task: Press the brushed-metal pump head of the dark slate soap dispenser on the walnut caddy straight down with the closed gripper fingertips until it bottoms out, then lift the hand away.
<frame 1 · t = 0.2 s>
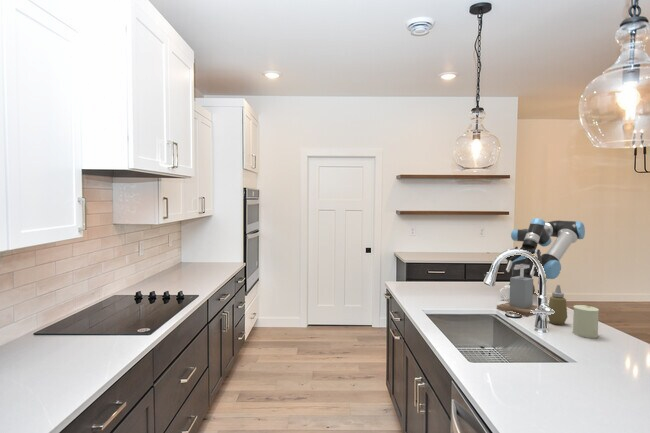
hand: (519, 273, 219), 16 cm above the worktop, tool tilted 35°, fingers open, 13 cm apart
squeeze bottle: (556, 323, 180), on the worktop
soap dispenser: (521, 292, 201), on the walnut caddy, point 10 cm above the worktop
can: (585, 334, 165), on the worktop
walnut caddy: (520, 310, 201), on the worktop
pump head: (520, 274, 199), point 19 cm above the worktop, slide at 0.0 cm
cup: (507, 300, 221), on the worktop
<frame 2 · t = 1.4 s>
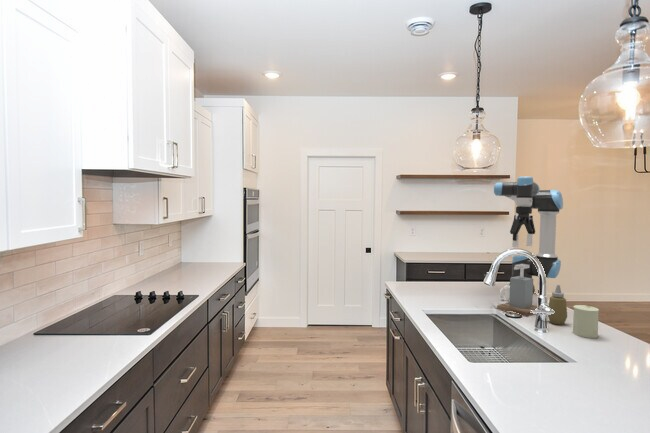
hand: (522, 246, 201), 34 cm above the worktop, tool pointing down, fingers open, 13 cm apart
nothing on the worktop moved.
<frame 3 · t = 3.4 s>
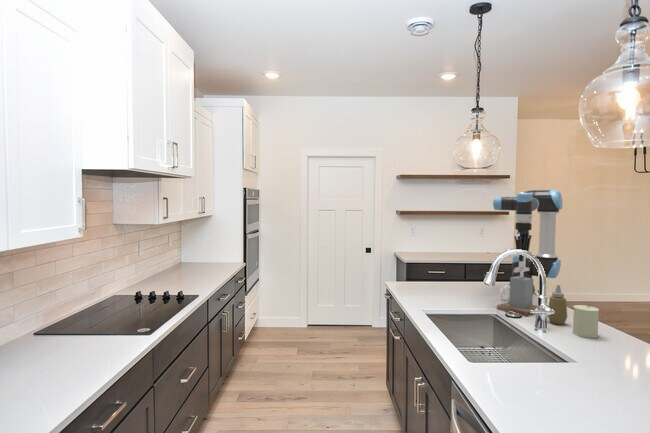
hand: (522, 267, 200), 23 cm above the worktop, tool pointing down, fingers closed
pump head: (520, 277, 199), point 18 cm above the worktop, slide at 1.5 cm, touching gripper
everything else where it was.
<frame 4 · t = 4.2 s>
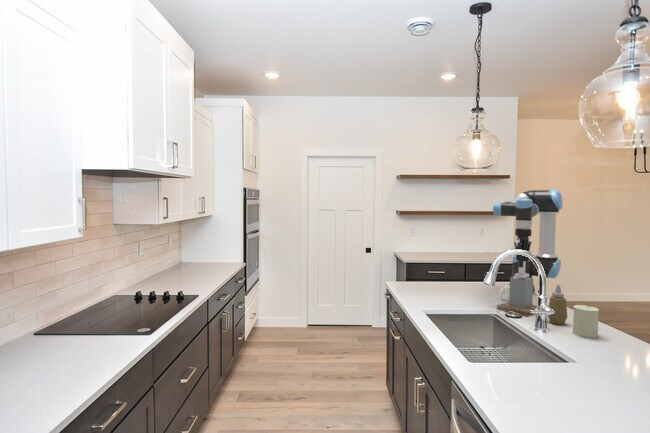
hand: (521, 273, 200), 20 cm above the worktop, tool pointing down, fingers closed
pump head: (519, 283, 199), point 15 cm above the worktop, slide at 4.7 cm, touching gripper
everything else where it was.
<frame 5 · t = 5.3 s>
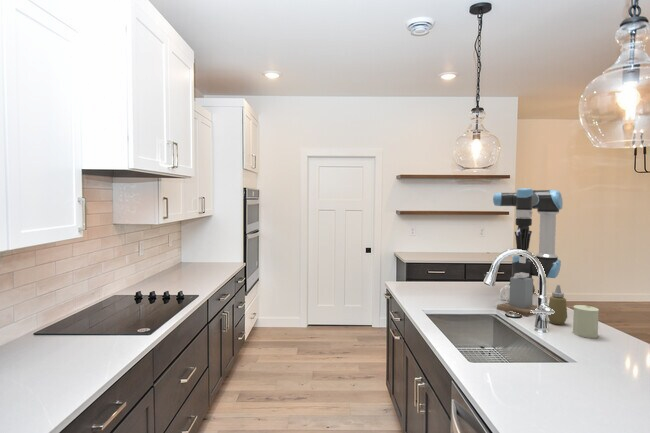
hand: (522, 262, 200), 25 cm above the worktop, tool pointing down, fingers closed
pump head: (519, 282, 199), point 15 cm above the worktop, slide at 4.6 cm
everything else where it was.
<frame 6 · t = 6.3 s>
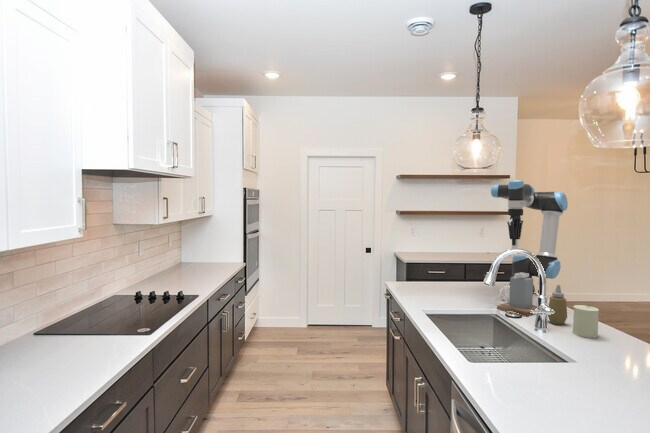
hand: (514, 250, 211), 30 cm above the worktop, tool pointing down, fingers closed
nothing on the worktop moved.
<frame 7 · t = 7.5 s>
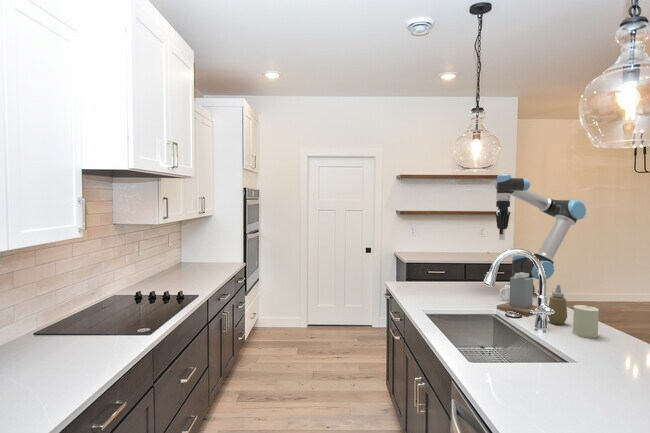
hand: (502, 239, 228), 34 cm above the worktop, tool pointing down, fingers closed
nothing on the worktop moved.
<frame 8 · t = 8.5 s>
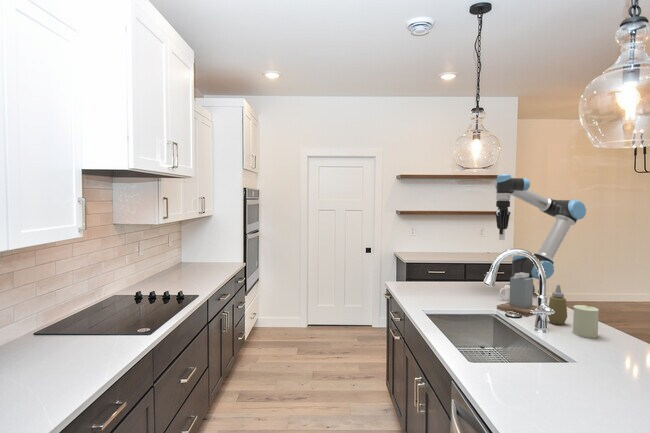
hand: (502, 239, 228), 34 cm above the worktop, tool pointing down, fingers closed
nothing on the worktop moved.
at the end: pump head slide at 4.6 cm; the gripper is holding nothing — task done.
